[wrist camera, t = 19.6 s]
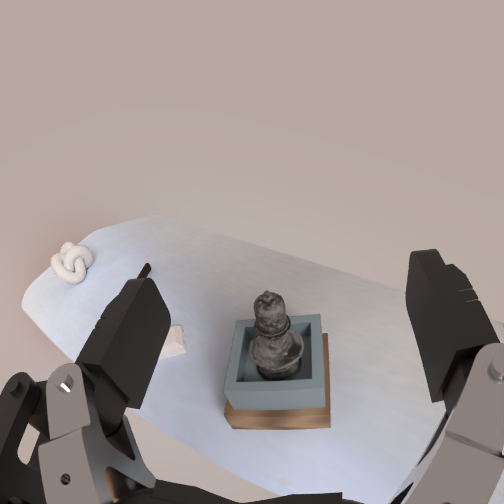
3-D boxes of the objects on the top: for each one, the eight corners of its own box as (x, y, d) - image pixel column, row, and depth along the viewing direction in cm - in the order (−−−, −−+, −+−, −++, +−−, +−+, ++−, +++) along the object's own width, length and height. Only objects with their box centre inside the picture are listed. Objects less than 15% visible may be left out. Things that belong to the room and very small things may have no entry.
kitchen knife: (148, 269, 70) (145, 262, 69) (152, 269, 70) (149, 262, 69) (116, 326, 56) (111, 319, 54) (120, 326, 55) (115, 319, 54)
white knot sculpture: (86, 288, 69) (70, 258, 64) (54, 293, 70) (37, 267, 66) (102, 261, 79) (88, 233, 74) (70, 268, 80) (56, 243, 75)
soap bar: (187, 353, 47) (181, 343, 46) (137, 367, 46) (129, 358, 45) (184, 332, 51) (178, 322, 50) (137, 346, 50) (130, 336, 49)
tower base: (328, 353, 42) (327, 333, 40) (330, 429, 32) (330, 414, 30) (246, 357, 45) (239, 338, 42) (234, 430, 35) (223, 415, 33)
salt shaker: (252, 348, 37) (232, 275, 30) (299, 340, 37) (293, 264, 30) (256, 389, 32) (235, 321, 25) (309, 380, 32) (306, 308, 25)
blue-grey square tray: (322, 337, 39) (320, 313, 37) (325, 407, 31) (324, 387, 28) (244, 342, 41) (236, 320, 39) (234, 410, 33) (223, 391, 30)
